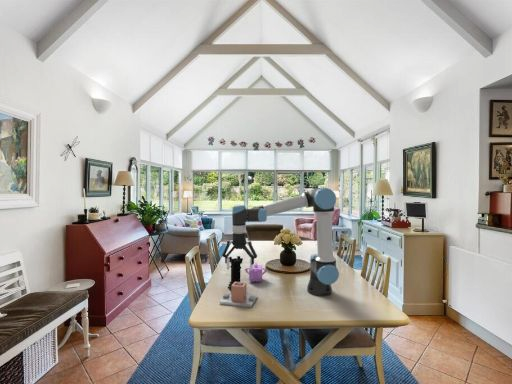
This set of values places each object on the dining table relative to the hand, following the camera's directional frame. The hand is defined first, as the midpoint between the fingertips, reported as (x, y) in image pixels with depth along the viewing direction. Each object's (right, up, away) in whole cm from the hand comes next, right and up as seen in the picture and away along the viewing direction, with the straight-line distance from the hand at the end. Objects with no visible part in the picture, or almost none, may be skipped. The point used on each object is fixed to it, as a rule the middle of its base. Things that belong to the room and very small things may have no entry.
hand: (239, 269), depth 160 cm
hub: (0, -16, 0) cm, 16 cm away
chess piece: (-4, -18, +18) cm, 26 cm away
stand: (0, -18, 0) cm, 18 cm away
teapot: (+9, -17, +35) cm, 40 cm away
